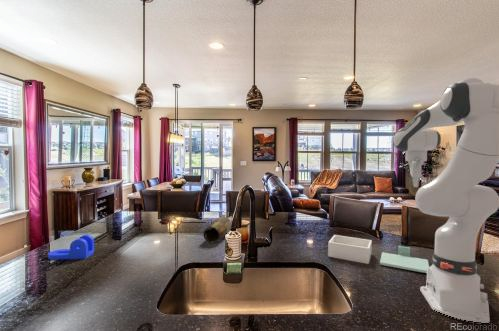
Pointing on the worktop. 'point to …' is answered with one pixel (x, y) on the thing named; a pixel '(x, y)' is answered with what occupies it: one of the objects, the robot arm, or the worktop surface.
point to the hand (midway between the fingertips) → (415, 186)
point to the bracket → (75, 249)
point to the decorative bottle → (218, 229)
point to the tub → (350, 248)
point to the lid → (404, 260)
